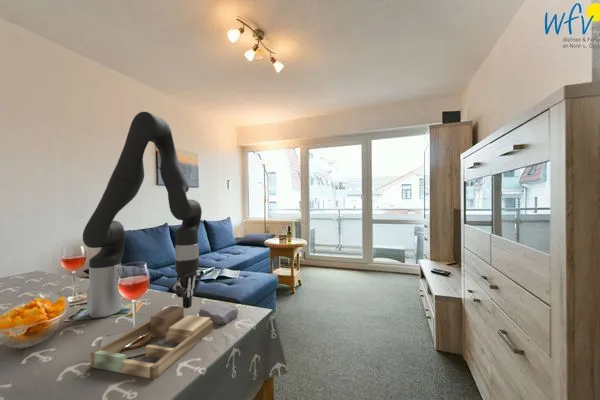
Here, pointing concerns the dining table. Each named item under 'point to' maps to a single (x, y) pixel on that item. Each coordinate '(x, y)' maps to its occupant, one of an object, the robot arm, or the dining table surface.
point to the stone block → (219, 312)
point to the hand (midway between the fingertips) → (187, 307)
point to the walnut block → (165, 320)
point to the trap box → (152, 348)
